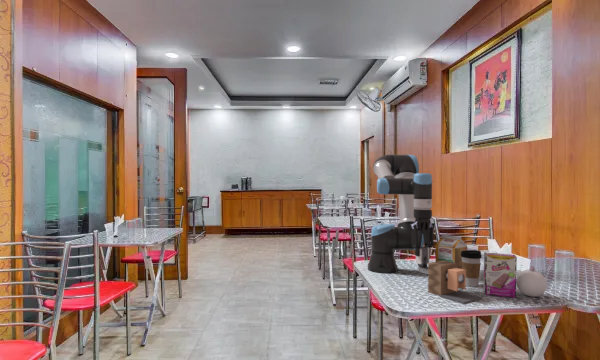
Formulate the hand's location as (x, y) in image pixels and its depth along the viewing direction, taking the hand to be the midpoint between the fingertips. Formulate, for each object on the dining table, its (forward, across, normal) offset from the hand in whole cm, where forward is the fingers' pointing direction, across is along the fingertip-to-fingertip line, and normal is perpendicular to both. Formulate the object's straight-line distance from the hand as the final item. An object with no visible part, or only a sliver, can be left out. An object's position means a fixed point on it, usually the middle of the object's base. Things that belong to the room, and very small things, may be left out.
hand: (422, 262), depth 157 cm
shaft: (+4, 0, -9) cm, 9 cm away
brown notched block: (+10, 0, -10) cm, 14 cm away
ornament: (+10, +27, -31) cm, 42 cm away
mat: (+10, 0, -18) cm, 21 cm away
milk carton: (+10, +31, +8) cm, 34 cm away
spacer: (+3, 0, -16) cm, 17 cm away
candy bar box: (+10, +17, -24) cm, 31 cm away
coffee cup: (+10, +21, -9) cm, 25 cm away
